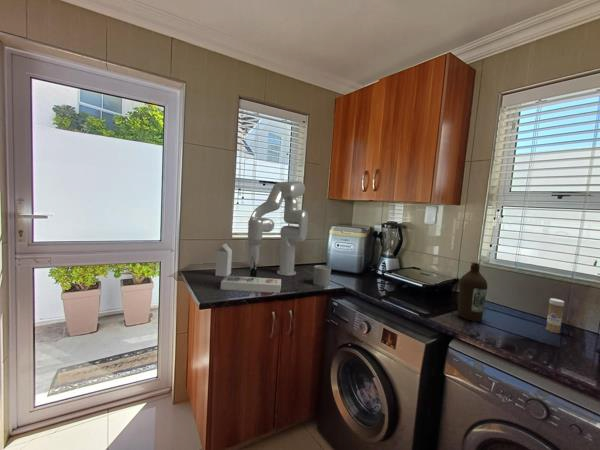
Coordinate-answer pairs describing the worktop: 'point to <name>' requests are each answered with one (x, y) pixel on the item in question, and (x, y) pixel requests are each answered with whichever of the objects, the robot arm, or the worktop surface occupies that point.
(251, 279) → the button three
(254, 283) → the button board
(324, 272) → the coffee mug
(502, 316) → the worktop surface
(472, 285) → the olive oil
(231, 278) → the button two
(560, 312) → the sprinkles bottle
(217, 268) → the milk carton
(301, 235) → the robot arm
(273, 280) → the button one
